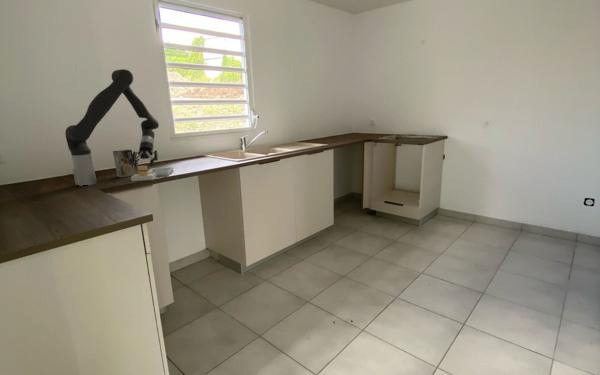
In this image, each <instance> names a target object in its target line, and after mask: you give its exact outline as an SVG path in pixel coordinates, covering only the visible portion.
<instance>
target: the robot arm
mask: <svg viewBox="0 0 600 375" xmlns="http://www.w3.org/2000/svg"><path fill="white" fill-rule="evenodd" d="M111 80H112V82H111V84H109V85H108V86H106V87H105V88H103V90H101V91H100V92H99V93H97V95H95V96H94V98H93V99H92V101H91V102H90V103H89V105H88V107H87V110H86V113H85V115H84V116H83V117H82V118H81V120H79V122H77V124H72V125H69V126H67V127H66V129H65V139H66V143H67V147H68V150H69V151H70V156H71V160H72V164H73V169H72V174H73V176H74V182H75V186H76V185H79V186H78V187H84V186H83V185H88V186H92V185H96V184H98V183H97V182H98V181H97V177H96V171H95V166H94V161H93V155H92V152H91V148H90V147H89V146H88V144H87V141H88V139H89V138H90V137H91V135H92V133H93V132H94V130H95V129H96V126H97V125H98V124H99V123H100V122H101V121H102V119H103V118H104V117H105V116H106V115H107V113H109V111H110V110H111V109H112V107H113V106H114V104H115V103H116V102H117V101H118V99H119V98H120V96H122V94H123V95H124V96H125V98H126V99H127V101H128V102H129V104H130V105H131V107H132V109H133V110H134V111H135V113H136V115H137V117H139V119H145V120H142V122H141V123H140V128H141V133H142V135H141V139H140V143H139V147H138V148H139V149H138V152H137V151H132V154H133V155H132V160H133V162H134V165H135V168H137V166H139V162H140V161H142V160H146V159H148V160H150V162H149V165H150V167H153V166H154V165H155V164H154V163H155V161H158V157H159V155H158V154H159V152H158V151H157V150H154V146H155V132H154V131H155V130H156V129H159V127H160V124H159V121H158V120H157V117H155V116H154V115H153V114H152V113H151V112H150V111H149V109H148V108H147V106H146V105H145V103H144V101H143V100H142V99H141V98H140V97H139V96H138V95H137V94H136V93H135V92H134V90H133V88H132V87H131V85H132V83H133V81H134V74H133V73H132V71H131V70H128V69H126V68H121V69H116V70H113V71H112V73H111ZM153 156H154V157H153Z"/></svg>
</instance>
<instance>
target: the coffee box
mask: <svg viewBox="0 0 600 375" xmlns="http://www.w3.org/2000/svg"><path fill="white" fill-rule="evenodd" d="M112 154H113V160H114V165H115V170H116V175H117V177H118V178H126V177H131V176H133V175H135V174H137V171H136V166H135V165H134V162H133V160H132V155H133V150H132V149H120V150H113V151H112Z"/></svg>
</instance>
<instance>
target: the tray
mask: <svg viewBox="0 0 600 375" xmlns="http://www.w3.org/2000/svg"><path fill="white" fill-rule="evenodd" d="M151 173H156V178H159V177H169V176H170V175H172V174H173V173H174V167H173V166H172V167H171V166H170V167H169V166H168V167H156V168H155V167H153V168H150V169H148V174H151Z"/></svg>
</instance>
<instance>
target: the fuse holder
mask: <svg viewBox="0 0 600 375" xmlns="http://www.w3.org/2000/svg"><path fill="white" fill-rule="evenodd" d="M156 178H157V177H156V173H151V174H148V175H142V176H139V174H138V173H136V174H135V175H132V176H130V180H131V182H137V181H139V182H140V181H153V180H154V179H156Z"/></svg>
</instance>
